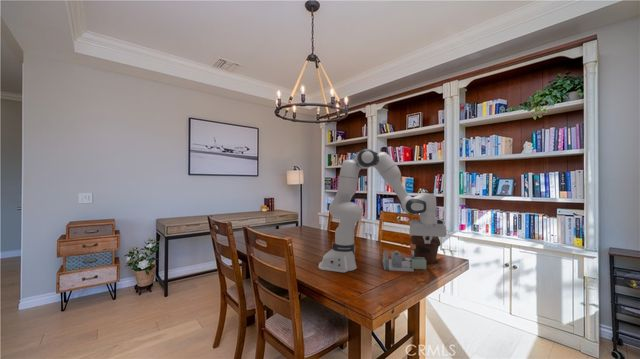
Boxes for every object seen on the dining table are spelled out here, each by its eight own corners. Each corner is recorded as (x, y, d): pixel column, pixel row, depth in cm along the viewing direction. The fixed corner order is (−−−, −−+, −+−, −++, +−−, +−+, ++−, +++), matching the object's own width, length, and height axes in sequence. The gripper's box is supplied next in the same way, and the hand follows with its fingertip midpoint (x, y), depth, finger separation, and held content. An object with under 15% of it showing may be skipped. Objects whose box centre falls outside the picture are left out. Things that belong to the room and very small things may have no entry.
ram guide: (411, 268, 157) (411, 259, 157) (410, 265, 163) (410, 256, 163) (426, 269, 156) (426, 260, 155) (424, 265, 161) (424, 257, 161)
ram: (402, 261, 159) (402, 244, 159) (401, 260, 162) (402, 243, 162) (416, 262, 158) (416, 245, 158) (415, 260, 161) (415, 243, 161)
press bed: (384, 269, 154) (384, 259, 154) (382, 261, 170) (382, 251, 170) (413, 271, 152) (413, 260, 152) (408, 262, 168) (408, 253, 168)
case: (432, 255, 183) (432, 229, 182) (446, 265, 163) (445, 235, 162) (406, 255, 183) (406, 229, 183) (416, 265, 163) (416, 236, 163)
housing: (392, 265, 158) (393, 252, 158) (391, 261, 166) (391, 249, 166) (401, 265, 157) (401, 253, 157) (399, 261, 165) (400, 249, 165)
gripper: (410, 219, 156) (409, 243, 156) (447, 221, 153) (447, 246, 153) (408, 218, 163) (407, 241, 163) (444, 220, 159) (443, 243, 159)
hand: (427, 243), depth 158 cm, fingers closed
